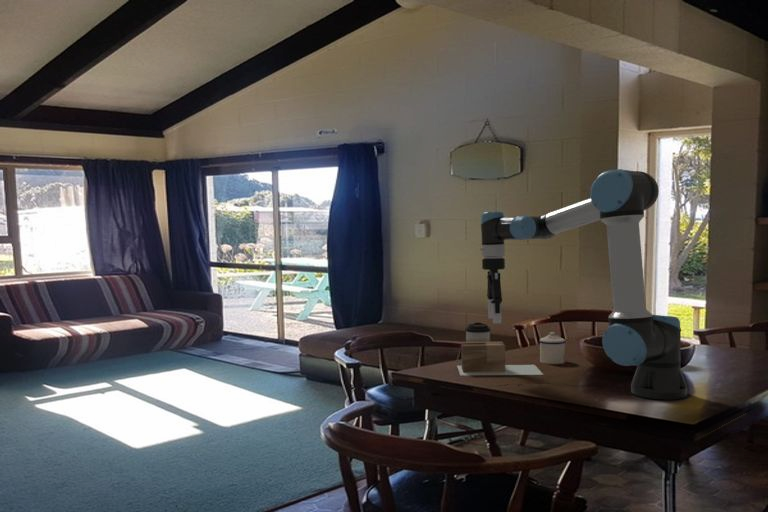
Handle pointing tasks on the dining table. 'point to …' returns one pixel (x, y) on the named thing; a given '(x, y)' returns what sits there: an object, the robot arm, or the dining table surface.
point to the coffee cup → (477, 333)
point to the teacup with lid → (552, 349)
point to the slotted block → (483, 356)
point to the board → (508, 371)
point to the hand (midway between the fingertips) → (494, 320)
